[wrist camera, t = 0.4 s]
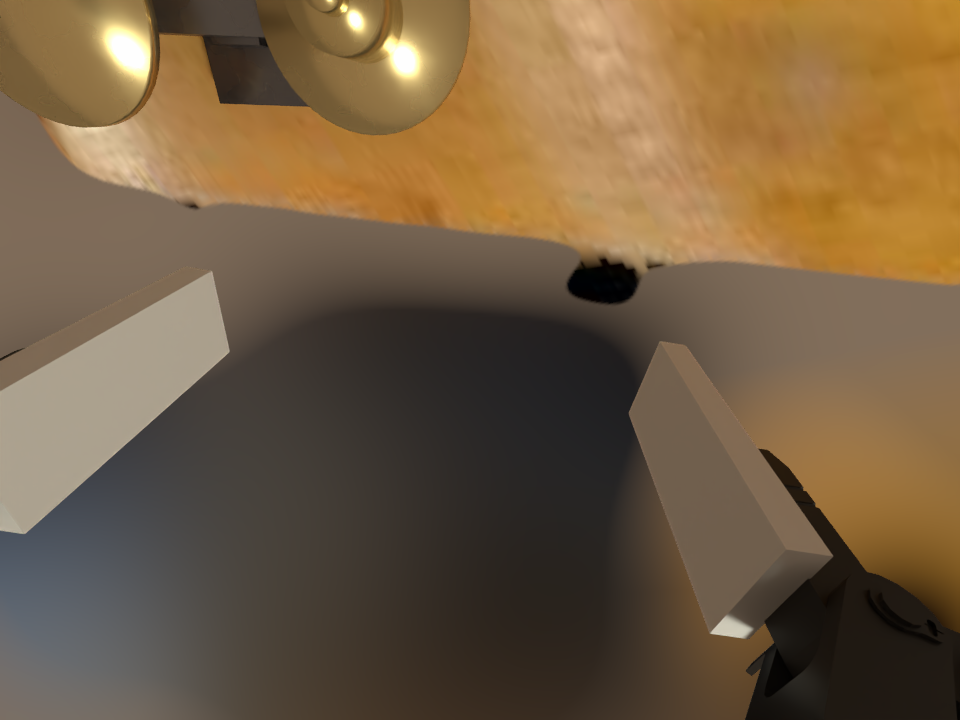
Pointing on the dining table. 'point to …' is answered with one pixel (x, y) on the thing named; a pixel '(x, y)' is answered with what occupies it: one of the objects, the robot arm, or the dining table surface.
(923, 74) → the dining table surface
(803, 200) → the dining table surface
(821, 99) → the dining table surface
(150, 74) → the balance
